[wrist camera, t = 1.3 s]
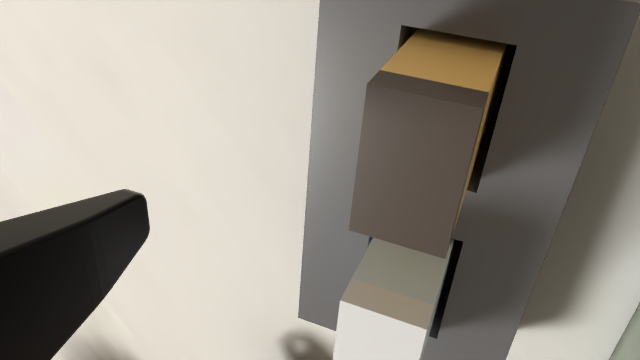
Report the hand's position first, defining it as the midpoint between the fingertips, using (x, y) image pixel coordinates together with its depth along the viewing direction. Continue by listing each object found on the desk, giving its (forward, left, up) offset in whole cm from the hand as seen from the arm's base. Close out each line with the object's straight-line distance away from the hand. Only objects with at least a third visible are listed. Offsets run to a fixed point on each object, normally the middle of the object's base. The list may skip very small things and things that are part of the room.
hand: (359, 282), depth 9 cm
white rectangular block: (0, +6, -11) cm, 13 cm away
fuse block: (0, +3, -11) cm, 11 cm away
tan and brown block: (0, 0, -11) cm, 11 cm away
